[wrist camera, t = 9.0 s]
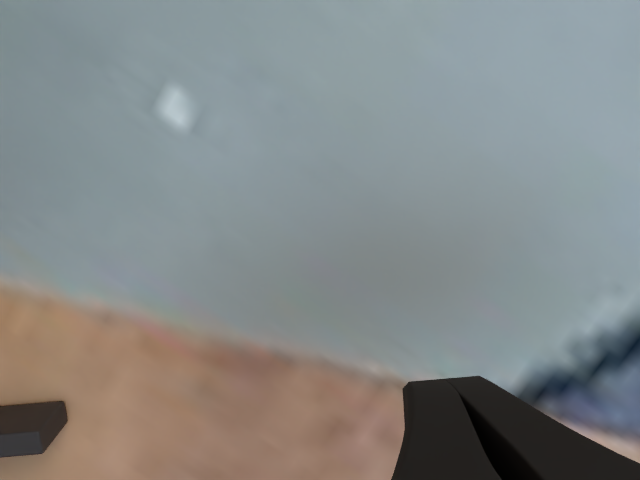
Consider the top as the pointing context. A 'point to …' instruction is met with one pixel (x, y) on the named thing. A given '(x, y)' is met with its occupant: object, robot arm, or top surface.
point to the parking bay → (30, 427)
